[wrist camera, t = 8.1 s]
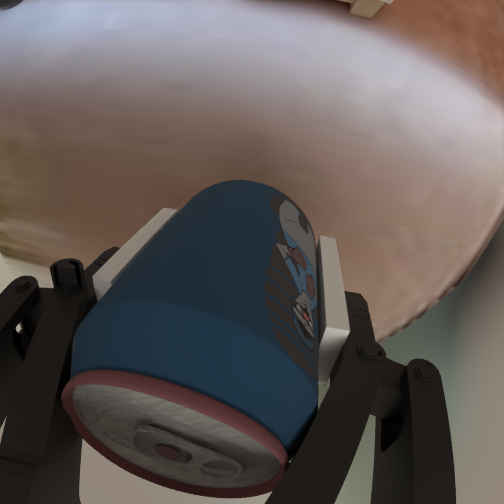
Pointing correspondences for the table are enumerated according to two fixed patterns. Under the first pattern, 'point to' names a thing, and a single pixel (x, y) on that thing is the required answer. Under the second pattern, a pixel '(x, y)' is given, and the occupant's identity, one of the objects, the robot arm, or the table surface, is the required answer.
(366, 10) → the small white stool
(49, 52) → the table surface
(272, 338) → the soda can
